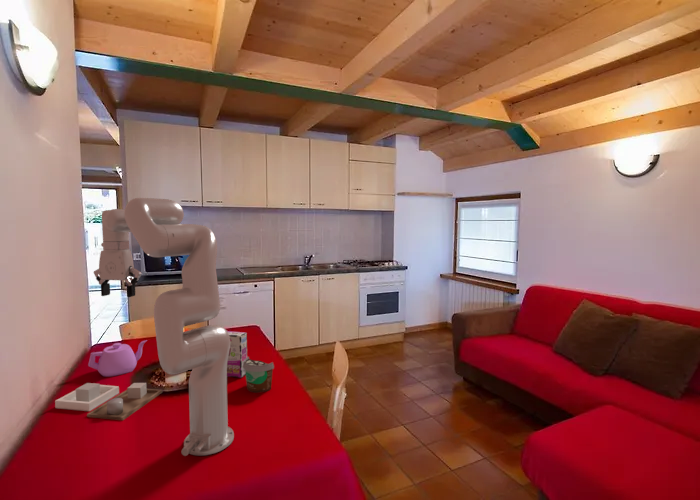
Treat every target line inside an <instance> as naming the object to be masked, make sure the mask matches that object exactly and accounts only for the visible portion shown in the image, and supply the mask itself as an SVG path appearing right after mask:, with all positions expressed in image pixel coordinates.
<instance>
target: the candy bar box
mask: <svg viewBox="0 0 700 500" xmlns="http://www.w3.org/2000/svg"><path fill="white" fill-rule="evenodd" d="M227 332H228V334H229V337H230V350H229V356H228V362H227V377H231V378H239V379H241V378H243V377H245V376H246V373H245V369H244V368H243V364H244V361H245V359H246V358H247V357H248V335H247V334H248V333H247V332H242V331H241V332H240V331H231V330H229V331H228V330H227Z"/></svg>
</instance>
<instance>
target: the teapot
mask: <svg viewBox="0 0 700 500" xmlns="http://www.w3.org/2000/svg"><path fill="white" fill-rule="evenodd" d="M147 341H148V340H147V339H146V340H145V339H144V340H142V341H141V342H140V343H139V344H138V347H137V348H138V349H137V351H136V352H134V351H133V349H132V347H131V346H130V345H129V344H126V343H121V342H115V343H112V345H110V346H106V347H104V349H103V350H102V351H96V352H95V351H93V352H91V353H90V356H89V361H88V364H87V366H88V367H90V368H92V369H93V370H97V371H98V373H99V374H100V375H101V376H102V377H105V378H106V377H116V376H120V375H124V374H128V373H132V372H133V371H134V370H135V368H136V367H137V363H138V361H139V360H140V359H141V357H142V354H143V347H144V344H145V343H146V342H147ZM96 357H99V359H98V362H96Z"/></svg>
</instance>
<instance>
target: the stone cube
mask: <svg viewBox="0 0 700 500" xmlns="http://www.w3.org/2000/svg"><path fill="white" fill-rule="evenodd" d="M100 385H101V384H100V383H95V382H93V383H91V382H86V383H84V384H83V385H81V386H79V387H77V388H75V390H76V401H85V402H90V401H91V400H93V399H95V398H97V397H98V396H100Z"/></svg>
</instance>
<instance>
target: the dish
mask: <svg viewBox="0 0 700 500" xmlns="http://www.w3.org/2000/svg"><path fill="white" fill-rule="evenodd" d="M119 394H120V387H119V385H118V386H117V385H109V384H107V385H106V384H100V396H98V397H97V398H95V399H93V400H91V401H90V402H85V401H76V389H75V390H72V391H71V392H69V393H67V394H65V395H64V396H61V397H60V398H58V399H55V400H54V403H55V404H54V407H55V409H59V410H60V409H61V410H69V411H70V410H72V411H84V412H91V411H93V410H95V409H96V408H98V407H100V406H101V405H103V404H104V403H106V402H107V401H109V400H111V399H113V398H114V397H116V396H118V395H119Z"/></svg>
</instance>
